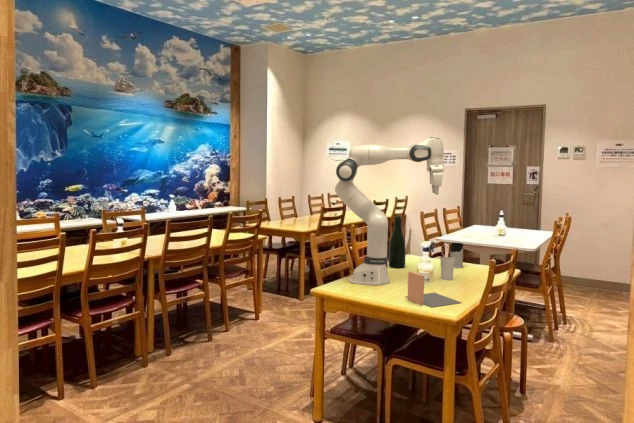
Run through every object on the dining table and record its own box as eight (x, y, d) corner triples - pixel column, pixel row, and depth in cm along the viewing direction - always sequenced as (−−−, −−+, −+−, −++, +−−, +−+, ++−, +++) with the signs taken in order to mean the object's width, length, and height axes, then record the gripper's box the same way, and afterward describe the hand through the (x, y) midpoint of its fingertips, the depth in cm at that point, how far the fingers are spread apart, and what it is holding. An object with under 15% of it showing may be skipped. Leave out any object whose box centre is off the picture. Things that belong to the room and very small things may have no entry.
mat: (431, 307, 229) (431, 307, 229) (405, 297, 247) (405, 296, 247) (461, 303, 237) (461, 302, 237) (434, 293, 255) (434, 292, 255)
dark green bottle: (408, 266, 319) (409, 215, 316) (399, 269, 312) (400, 216, 308) (394, 264, 326) (395, 214, 323) (385, 266, 318) (386, 215, 315)
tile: (420, 305, 233) (421, 275, 231) (407, 300, 242) (408, 271, 240) (423, 305, 233) (424, 275, 232) (410, 299, 242) (411, 271, 241)
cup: (456, 280, 283) (456, 259, 281) (442, 280, 282) (443, 259, 281) (451, 277, 290) (452, 256, 289) (437, 277, 290) (438, 257, 289)
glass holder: (462, 268, 314) (463, 245, 313) (439, 267, 319) (440, 243, 318) (463, 266, 322) (464, 243, 321) (441, 264, 327) (442, 241, 326)
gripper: (426, 167, 278) (427, 192, 280) (431, 168, 258) (431, 195, 259) (438, 167, 277) (438, 192, 279) (444, 168, 257) (444, 195, 259)
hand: (435, 193), depth 269 cm, fingers open, 8 cm apart
